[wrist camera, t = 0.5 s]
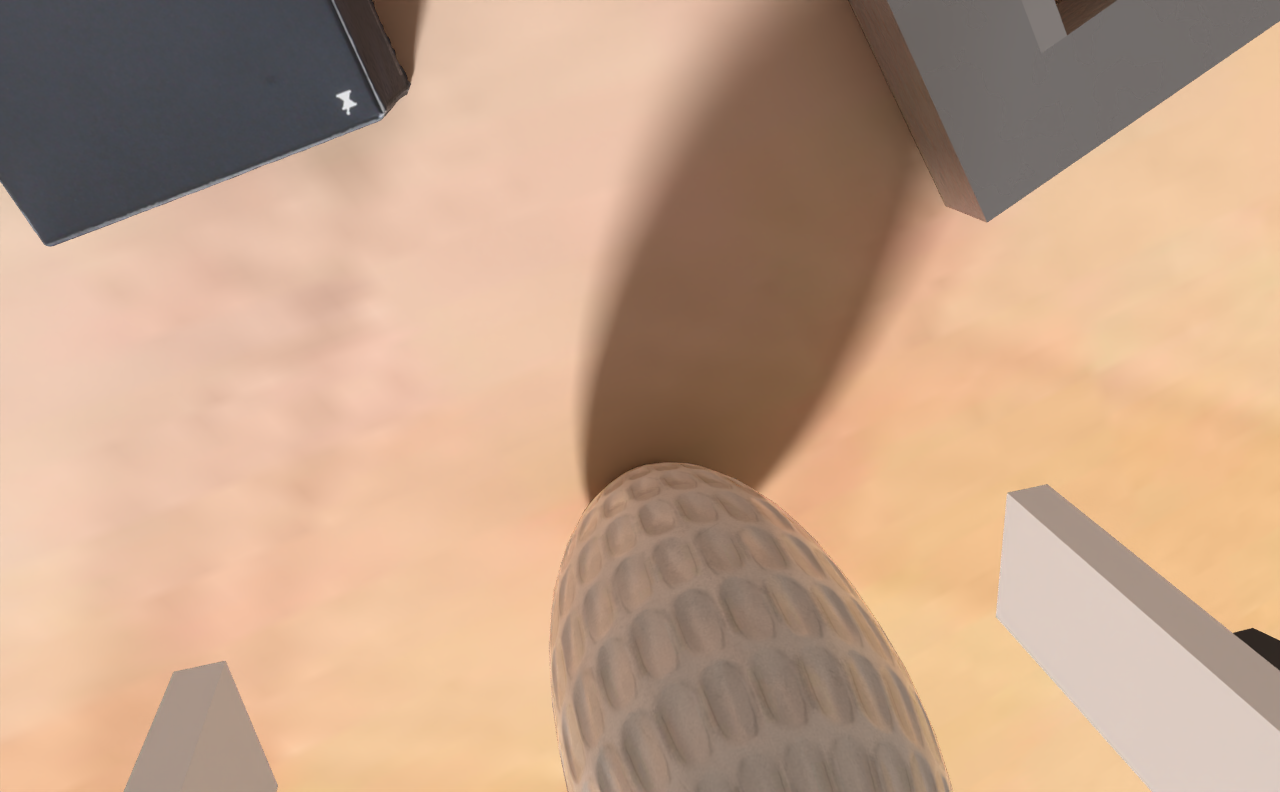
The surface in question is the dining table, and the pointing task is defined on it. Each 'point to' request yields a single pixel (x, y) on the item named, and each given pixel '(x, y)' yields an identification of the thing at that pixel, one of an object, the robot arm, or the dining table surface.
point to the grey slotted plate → (1039, 78)
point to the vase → (722, 652)
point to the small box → (174, 97)
